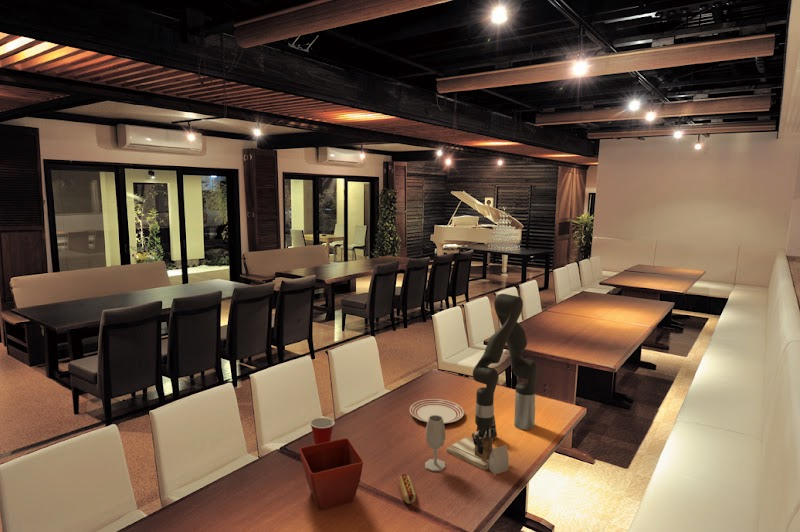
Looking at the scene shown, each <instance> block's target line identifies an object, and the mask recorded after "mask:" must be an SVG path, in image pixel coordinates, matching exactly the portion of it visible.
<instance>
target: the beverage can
mask: <svg viewBox="0 0 800 532" xmlns="http://www.w3.org/2000/svg"><path fill="white" fill-rule="evenodd" d="M493 425H497V424H496V418H495V415H494V421H493ZM491 434H492V433H491ZM497 436H498V432H497V426H496V427H495V432H494V437H493V439H494V440H495V438H497Z"/></svg>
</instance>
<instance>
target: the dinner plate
mask: <svg viewBox="0 0 800 532" xmlns="http://www.w3.org/2000/svg"><path fill="white" fill-rule="evenodd" d="M409 413H410V414H411V415H412V416H413V417H414V418H415V419H416V420H419V421H421V422H424V423H427V421H428V418H429V417H430V416H432V415H439V416H442V417H443V421H444V425H445V424H451V423H454V422H455V423H456V422H457V421H459V420H460V419H462V418H463V416H464V415H465V411H464V409H463V407H461V405H459V404H457V403H456V402H453V401H451V400H447V399H439V398H427V399H421V400H418V401H416V402H414V403H412V405H410V407H409Z"/></svg>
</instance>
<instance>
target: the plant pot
mask: <svg viewBox="0 0 800 532" xmlns="http://www.w3.org/2000/svg"><path fill="white" fill-rule="evenodd" d="M299 454H300V460H301V463H302V468H303V472H304V474H305V475H304V476H305V478H306V481H307V485H308V487H309V489H310V492H311V495H312V497H313V499H314V502H315V504H316V506H317V509H318V510H320V511H323V510H327V509H330V508H331V509H332V508H334V507H338V506H342V505H345V504H349V503H352V502H353V501H354V499H355V496H356V494H357V491H358V488H359V485H360V482H361V476H362V473H363V472H362V471H363V465H364V460H363V459H362V457H361V456H360V454H359V453H358V451H357V450H356V448H355V447H354V445H353V444H352V442H351V440H350V439H349V438H345V437H344V438H340V439H336V440H330V442H325V443H320V444H316V445H315V444H312V445H307V446H301V447H300V448H299Z"/></svg>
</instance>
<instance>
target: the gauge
mask: <svg viewBox="0 0 800 532" xmlns="http://www.w3.org/2000/svg"><path fill="white" fill-rule="evenodd" d="M480 438H482V437H480ZM482 439H483V438H482ZM493 441H494V440H493V439H492V438H489V437H485V441H483V454H482V455H481V454H478V452H477V450H478V446H476V445H475V448H474V450H475V455H477V456H479V457H481V458H483V459H485V460H487V459H489V458H490V454H491V452H492V448H493V444H494V443H493ZM480 443H481V440H480Z"/></svg>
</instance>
